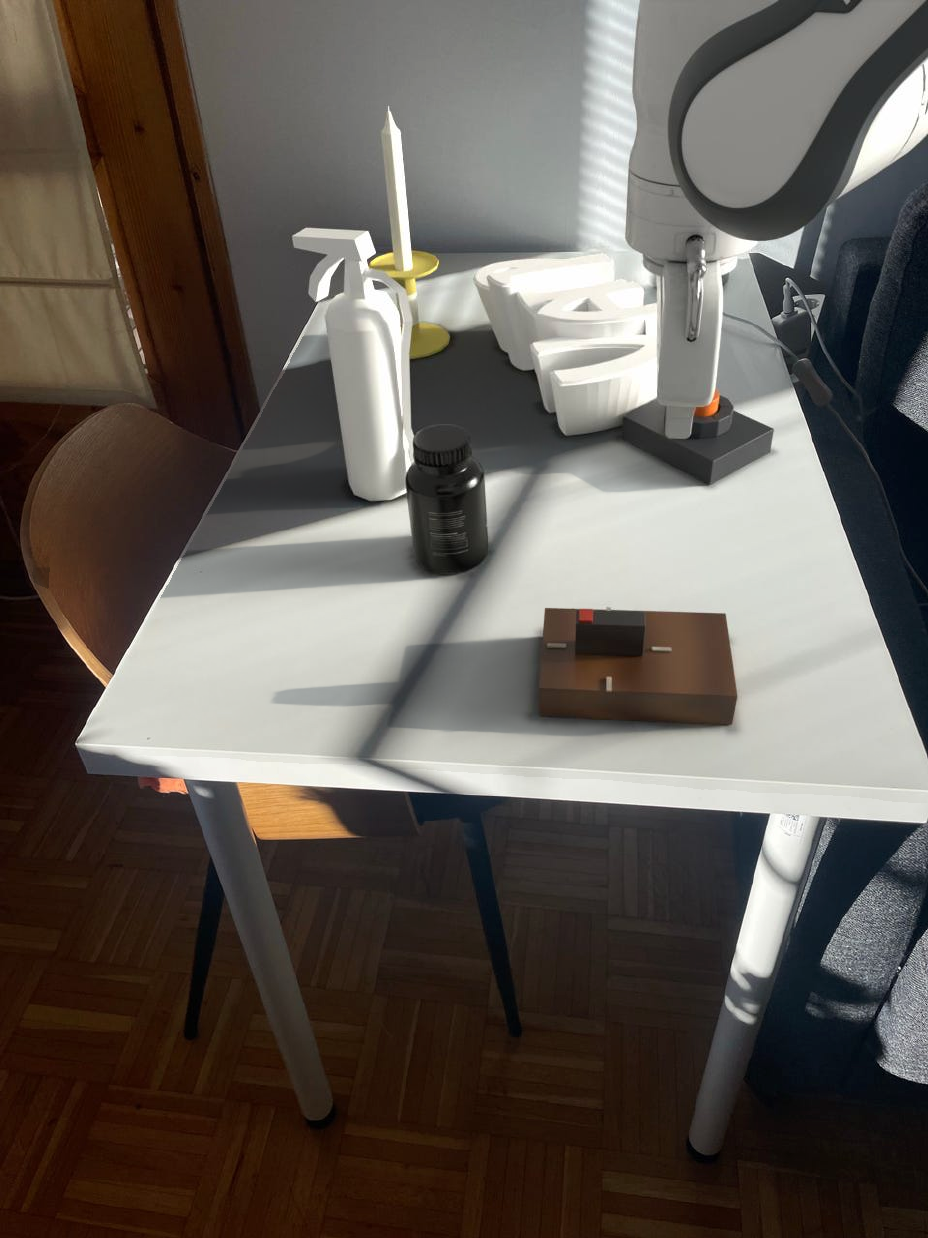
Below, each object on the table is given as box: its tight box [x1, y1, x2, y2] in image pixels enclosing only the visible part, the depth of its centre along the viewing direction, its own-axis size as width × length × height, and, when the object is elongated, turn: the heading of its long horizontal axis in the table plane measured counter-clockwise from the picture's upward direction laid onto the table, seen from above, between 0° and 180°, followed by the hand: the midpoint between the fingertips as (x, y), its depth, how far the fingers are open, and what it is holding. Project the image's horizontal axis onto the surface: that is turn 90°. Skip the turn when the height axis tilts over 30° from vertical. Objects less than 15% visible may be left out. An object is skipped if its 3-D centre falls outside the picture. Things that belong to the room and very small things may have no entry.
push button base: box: [621, 394, 775, 486], centre depth 97 cm, size 12×9×4 cm
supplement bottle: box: [405, 423, 489, 575], centre depth 83 cm, size 7×7×12 cm
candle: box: [368, 105, 451, 360], centre depth 112 cm, size 10×10×27 cm
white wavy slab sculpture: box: [472, 252, 658, 437], centre depth 108 cm, size 35×16×10 cm, turn 12°
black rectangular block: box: [575, 608, 646, 656], centre depth 71 cm, size 5×2×3 cm, turn 84°
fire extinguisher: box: [291, 227, 415, 502], centre depth 88 cm, size 7×12×25 cm, turn 58°
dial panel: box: [538, 606, 738, 726], centre depth 73 cm, size 14×9×3 cm, turn 84°
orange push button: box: [693, 389, 720, 417], centre depth 95 cm, size 4×4×2 cm
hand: (676, 401), depth 72 cm, fingers open, 8 cm apart
